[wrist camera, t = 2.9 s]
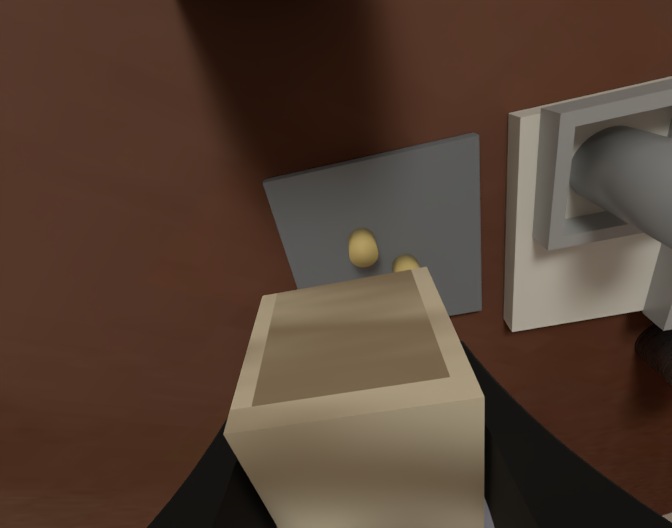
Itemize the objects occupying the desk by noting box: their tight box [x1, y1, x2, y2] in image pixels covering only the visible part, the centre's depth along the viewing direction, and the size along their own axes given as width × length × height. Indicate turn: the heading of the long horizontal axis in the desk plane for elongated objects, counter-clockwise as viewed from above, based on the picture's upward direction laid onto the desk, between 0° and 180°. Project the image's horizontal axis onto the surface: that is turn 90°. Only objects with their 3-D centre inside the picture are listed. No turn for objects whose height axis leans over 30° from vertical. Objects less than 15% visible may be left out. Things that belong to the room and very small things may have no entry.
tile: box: [263, 132, 482, 316], centre depth 19 cm, size 10×10×2 cm
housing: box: [223, 267, 485, 528], centre depth 11 cm, size 5×5×5 cm
